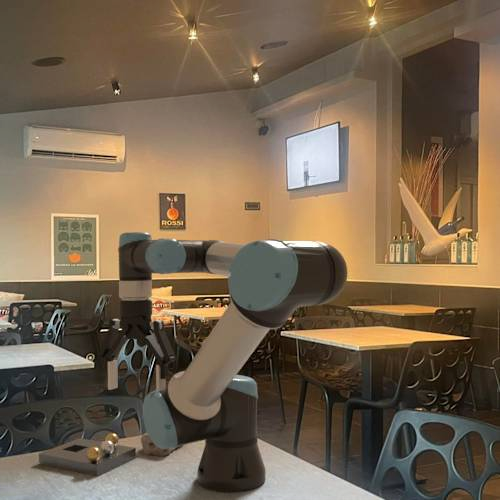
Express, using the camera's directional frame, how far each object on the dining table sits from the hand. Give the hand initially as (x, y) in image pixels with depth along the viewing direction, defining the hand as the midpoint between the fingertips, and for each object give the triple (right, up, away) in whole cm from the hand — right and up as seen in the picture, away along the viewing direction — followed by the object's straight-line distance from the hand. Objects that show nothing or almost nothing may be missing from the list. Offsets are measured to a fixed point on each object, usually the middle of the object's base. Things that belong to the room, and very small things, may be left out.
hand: (136, 391), depth 141 cm
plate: (-13, -19, +7) cm, 24 cm away
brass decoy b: (-8, -15, +10) cm, 19 cm away
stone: (+4, -19, +16) cm, 26 cm away
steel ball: (-8, -14, +4) cm, 17 cm away
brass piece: (-10, -14, -1) cm, 17 cm away
